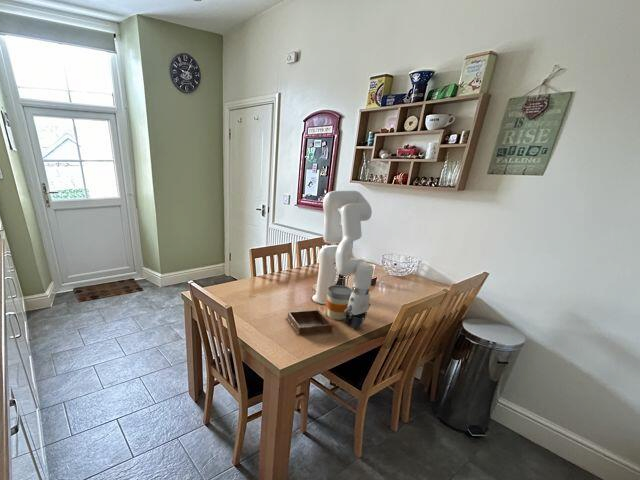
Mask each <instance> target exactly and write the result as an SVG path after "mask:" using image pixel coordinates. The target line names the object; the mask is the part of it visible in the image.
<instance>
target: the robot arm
mask: <svg viewBox="0 0 640 480" xmlns="http://www.w3.org/2000/svg"><path fill="white" fill-rule="evenodd" d="M322 209H323V214H324V216H323V217H324V219H323V231H322V233H323V234H322V239H323V242H324V243H326V244H338V245H326V246H323V247H321V248H320V249H319V251H318V274H317V281H316V289H315V294H314V295H313V296H312V301H313V302H315V303H316V304H321V305H327V297H328V295H327V291H328V288H329V287H330V286H333V285H336V279H337V274H339V276H343V277H344V276H346V277H347V276H354V278H353V283H352V288H351V289H352V293H351V296H350V299H349V303H348V307H347V308H346V309H345V310H344V315H345V319H344V324H345V325H346V326H348V327H350V326H351V321H352V319H351V317H352V316H353V315H358V314H362V315H363V316H364V321H365V319H366V315H367V313H368V311H369V309H370V307H371V303H370V300H371V293H370V290H371V285H372V280H373V276H374V270H375V268H374V266H373V265H372V264H370V263H368V262H367V261H366V260H365V259H363V258H352V256H353V248H354V242H356V241H358V240H360V239H361V238H362V237H363V233H362V222H367V221H369V220H370V219H371V217H372V214H373V213H372V206H371V205H370V203H369V202H368V200H367V199H366V198H365V197H364V195H363V194H362V193H361V192H359V191H358V190H332V191H329V192H327V193H326V194H325V195H324V197H323V203H322ZM350 313H351V315H350V316H349V314H350Z"/></svg>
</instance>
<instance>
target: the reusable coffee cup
mask: <svg viewBox="0 0 640 480" xmlns="http://www.w3.org/2000/svg"><path fill="white" fill-rule="evenodd" d="M351 293H352V288H351V287H350V286H347V285H341V284H340V285H339V284H335V285H333V286H330V287H329V288H328V291H327V295H328V297H327V304H326V308H327V310H326V311H327V316H328V318H330V319H333V320H337V321H341V320H345V319H346V317H345V315H344V310H345V309H346V308H347V307H348V303H349V299H350V296H351Z"/></svg>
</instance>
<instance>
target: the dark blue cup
mask: <svg viewBox="0 0 640 480" xmlns="http://www.w3.org/2000/svg"><path fill="white" fill-rule="evenodd" d="M350 315H351V313H349V316H350ZM351 319H352V321H351V326H349V327H350V328H352V329H354V330H358V329H359V330H360V329H361V327H362V325H363V323H364V322H365V320H364V316H363V315H362V314H358V315H353V316H352V317H351Z"/></svg>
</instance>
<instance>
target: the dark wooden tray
mask: <svg viewBox="0 0 640 480" xmlns="http://www.w3.org/2000/svg"><path fill="white" fill-rule="evenodd" d="M287 320H288V321H289V323H290V324H291V325H292V327H293V328H294V330H295V331H296V332H297V334H298V335H308V334H321V333H329V332H330V333H331V332H332V331H333V324H332V323H331V322H330V320H329V319H328V318H327V317H326V316H325V315H324V314H323V313H322V311H320V310H319V309H311V310H310V309H309V310H296V311H295V310H294V311H287Z"/></svg>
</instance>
